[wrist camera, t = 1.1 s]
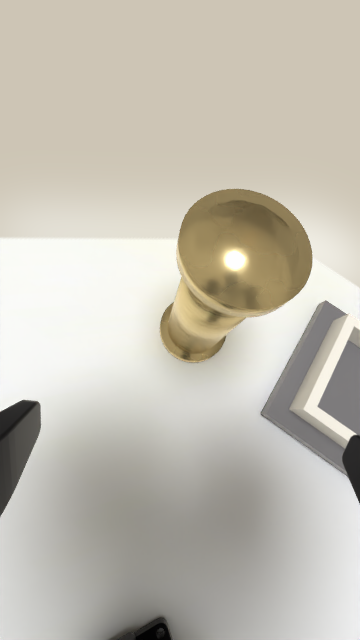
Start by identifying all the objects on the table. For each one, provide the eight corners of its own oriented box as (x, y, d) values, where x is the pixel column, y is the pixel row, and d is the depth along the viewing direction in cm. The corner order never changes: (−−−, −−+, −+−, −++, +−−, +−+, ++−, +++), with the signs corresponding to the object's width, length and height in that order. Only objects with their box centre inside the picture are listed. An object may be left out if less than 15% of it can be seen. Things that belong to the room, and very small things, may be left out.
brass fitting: (233, 349, 23) (336, 284, 11) (173, 372, 22) (212, 328, 10) (208, 292, 24) (274, 178, 12) (150, 311, 23) (159, 204, 11)
